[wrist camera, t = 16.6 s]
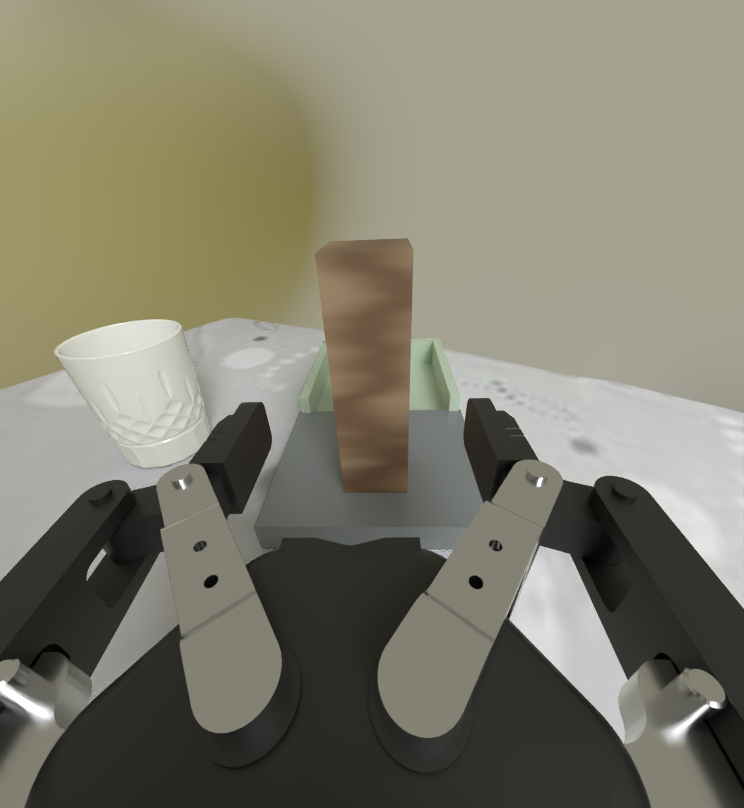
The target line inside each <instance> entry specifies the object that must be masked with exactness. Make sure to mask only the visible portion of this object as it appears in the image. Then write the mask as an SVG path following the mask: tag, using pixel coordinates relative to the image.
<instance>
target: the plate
mask: <svg viewBox="0 0 744 808" xmlns="http://www.w3.org/2000/svg"><path fill="white" fill-rule="evenodd" d="M464 424H465V422H464V419H463V416H462V413H461V410H458V411H449V410H409V444H408V486H407V493H344V488H343V479H342V471H341V463H340V455H339V446H338V438H337V430H336V422H335V414H334V411H320V412H311V413H302V412H300V413H299V415H298V418H297V420H296V423H295V425H294V428H293V430H292V433H291V436H290V438H289V441H288V443H287V446H286V448H285V451H284V453H283V456H282V458H281V461H280V463H279V466H278V468H277V471H276V473H275V476H274V478H273V481H272V483H271V486H270V488H269V491H268V493H267V496H266V498H265V501H264V503H263V506H262V508H261V511H260V513H259V516H258V518H257V521H256V523H255V526H254V527H255V530H256V533H257V536H258V538H259V541H260V544H261V547H262V548H280V545H281V541H282V538H320V539H324V540H328V541H332V542H336V543H340V544H344V545H356V544H360V543H364V542H368V541H372V540H377V539H381V538H385V537H420V544H421V548H422V549H454V548H455V547H456V545H457V544H458V542H459V541H460V539H461V537H462V536H463V534H464V533H465V531H466V530H467V528H468V527H469V525H470V523H471V522H472V520H473V519H474V517H475V516H476V514H477V513H478V511H479V510H480V508H481V506H482V505H483V501H482V498H481V495H480V492H479V489H478V486H477V483H476V480H475V477H474V474H473V471H472V468H471V464H470V461H469V458H468V455H467V452H466V449H465V446H464V439H463V432H464Z"/></svg>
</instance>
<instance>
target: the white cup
mask: <svg viewBox="0 0 744 808" xmlns="http://www.w3.org/2000/svg"><path fill="white" fill-rule="evenodd" d="M54 354H55V356H56V357H57V359H58V360H59V362H60V363H61V364H62V366H63V368H64V369H65V371H66V372H67V374H68V375H69V377H70V378H71V380H72V381H73V383H74V384H75V386H76V387H77V389H78V390H79V392H80V393H81V395H82V396H83V398H84V400H85V401H86V403H87V404H88V406H89V407H90V409H91V410H92V411H93V413H94V414H95V415H96V416H97V418H98V420H99V422H100V423H101V424H102V426H103V427H104V428H105V430H106V431H107V432H108V434H109V436H110V437H112V438H113V439H114V440H115V442H116V443H117V444H118V446H119V447H120V449H121V450H122V452H123V453H124V455H125V457H126V458H127V460H128V461H129V463H130V464H131V465H135V466H138V467H141V468H156V467H164V466H167V465H170V464H173V463H176V462H179V461H182V460H184V459H186V458H188V457H189V456H191V455H193V454H194V453H196V452H197V451H198V450H199V449H200V447H201V446H202V445H203V443H204V442H205V441H207V438H208V436H209V435H210V433H211V427H210V424H209V420H208V417H207V414H206V411H205V407H204V401H203V397H202V394H201V391H200V387H199V382H198V379H197V375H196V372H195V369H194V365H193V362H192V359H191V356H190V353H189V349H188V346H187V343H186V339H185V336H184V333H183V329H182V326H181V324H180V323H178V322H175V321H172V320H163V319H151V320H138V321H131V322H124V323H119V324H114V325H109V326H105V327H101V328H98V329H94V330H91V331H88V332H85V333H82V334H79V335H77V336H74V337H72V338H70V339H68V340H66V341H64V342H62V343H61V344H60V345H58V346H57V347H56V348H55V350H54Z"/></svg>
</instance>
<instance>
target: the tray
mask: <svg viewBox="0 0 744 808" xmlns="http://www.w3.org/2000/svg"><path fill="white" fill-rule="evenodd" d="M299 401H300V407H301V412H302V413H311V412H320V411H334V405H333V397H332V389H331V381H330V372H329V364H328V356H327V348H326V341H323V344H322V346H321V348H320V351H319V353H318V355H317V358H316V360H315V362H314V365H313V367H312V369H311V372H310V374H309V376H308V379H307V381H306V383H305V386H304V388H303V390H302V393H301V395H300V397H299ZM459 401H460V394H459V392H458V389H457V386H456V383H455V381H454V378H453V375H452V372H451V370H450V367H449V364H448V362H447V359H446V356H445V353H444V351H443V348H442V345H441V342H440V340H439V338H427V339H426V338H424V339H411V361H410V403H409V410H449V411H458V410H459Z"/></svg>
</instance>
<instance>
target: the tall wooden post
mask: <svg viewBox="0 0 744 808" xmlns="http://www.w3.org/2000/svg"><path fill="white" fill-rule="evenodd" d="M315 257H316V265H317V274H318V282H319V290H320V298H321V307H322V315H323V323H324V331H325V340H326V348H327V356H328V364H329V372H330V381H331V389H332V397H333V405H334V414H335V422H336V430H337V438H338V446H339V455H340V463H341V471H342V479H343V488H344V493H407V486H408V444H409V403H410V361H411V319H412V317H411V316H412V276H413V275H412V274H413V249H412V246H411V244H410V242H409V240H408V239H406V238H405V239H382V240H381V239H380V240H356V241H331V242H328V243H327V244H326V245H325V246H323V247H322V248H321V249H320V250H319V251H318V252H316V253H315Z"/></svg>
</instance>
